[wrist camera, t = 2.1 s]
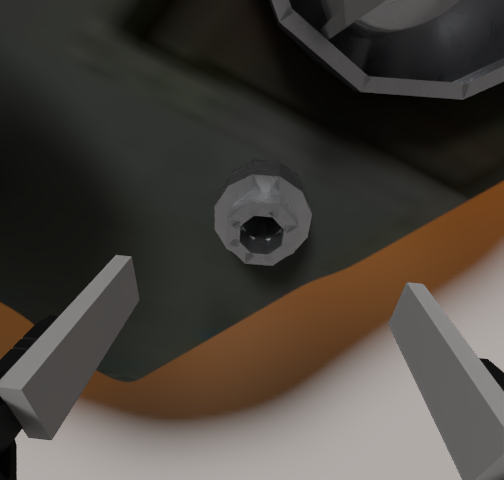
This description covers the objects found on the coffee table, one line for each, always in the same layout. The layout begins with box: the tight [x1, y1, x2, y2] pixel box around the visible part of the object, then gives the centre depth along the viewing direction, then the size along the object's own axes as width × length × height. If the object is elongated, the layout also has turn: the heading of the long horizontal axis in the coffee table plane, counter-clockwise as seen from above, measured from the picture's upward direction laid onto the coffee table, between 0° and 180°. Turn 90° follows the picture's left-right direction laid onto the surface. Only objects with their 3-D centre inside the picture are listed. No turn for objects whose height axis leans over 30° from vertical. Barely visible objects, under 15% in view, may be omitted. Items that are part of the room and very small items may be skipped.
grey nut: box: [215, 159, 312, 266], centre depth 20 cm, size 7×7×6 cm
